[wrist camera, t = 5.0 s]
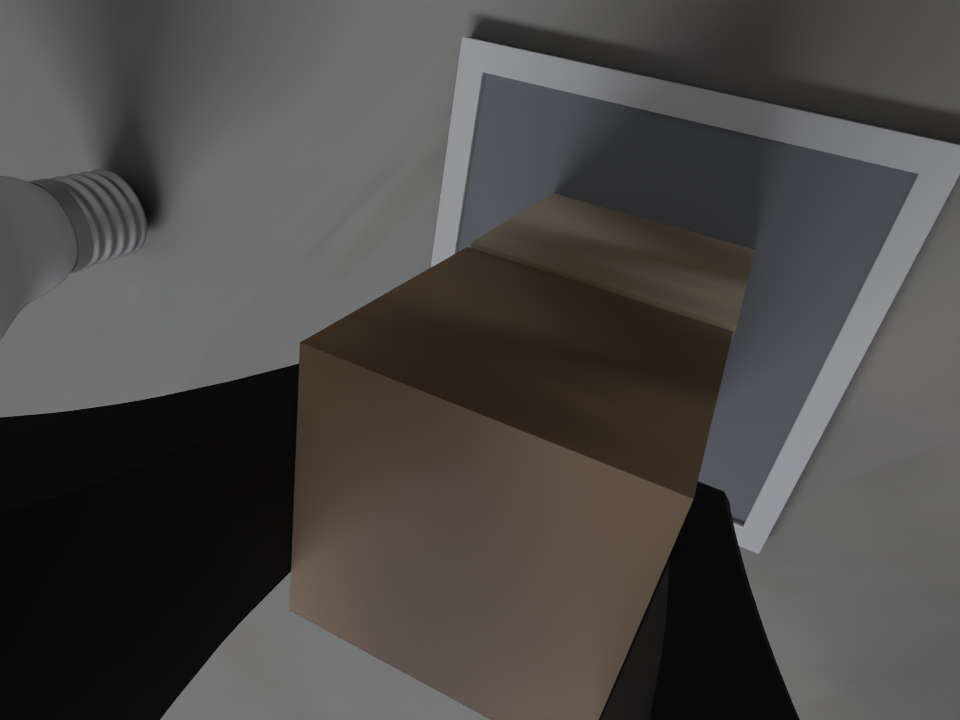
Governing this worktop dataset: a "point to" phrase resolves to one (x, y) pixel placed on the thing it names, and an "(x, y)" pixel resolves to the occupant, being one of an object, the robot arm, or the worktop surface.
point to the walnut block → (498, 479)
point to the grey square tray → (714, 226)
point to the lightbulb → (62, 232)
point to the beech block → (627, 257)
